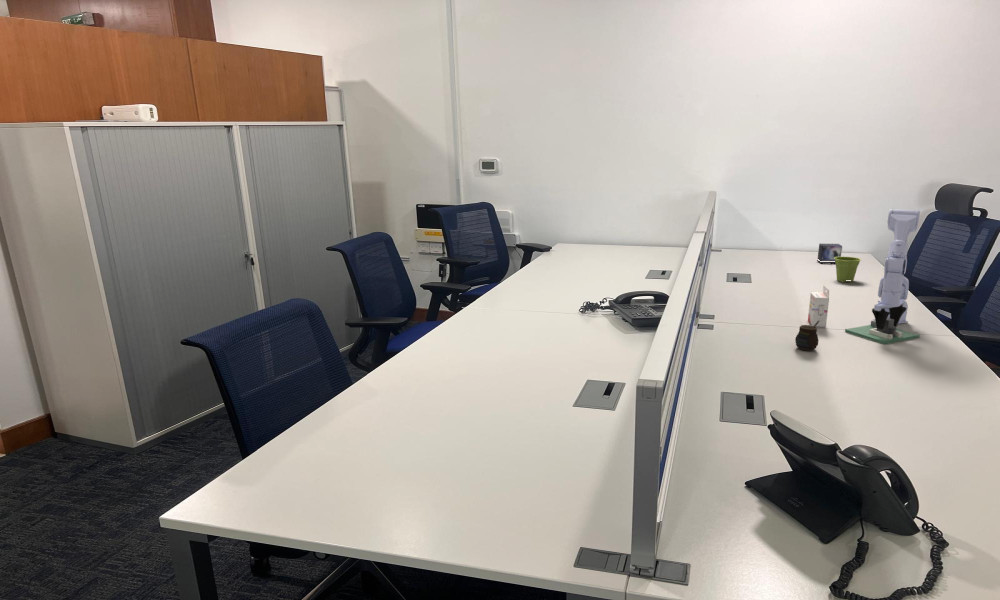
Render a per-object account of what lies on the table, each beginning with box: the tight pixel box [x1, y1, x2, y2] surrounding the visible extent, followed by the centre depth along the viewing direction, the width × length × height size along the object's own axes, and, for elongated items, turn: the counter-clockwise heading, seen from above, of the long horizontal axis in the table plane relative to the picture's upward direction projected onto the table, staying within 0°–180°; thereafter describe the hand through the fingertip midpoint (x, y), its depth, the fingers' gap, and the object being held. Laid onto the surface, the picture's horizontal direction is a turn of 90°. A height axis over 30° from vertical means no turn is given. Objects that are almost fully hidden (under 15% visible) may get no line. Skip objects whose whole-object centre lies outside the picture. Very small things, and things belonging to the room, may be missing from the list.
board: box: [844, 319, 920, 345], centre depth 237 cm, size 18×16×3 cm
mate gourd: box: [794, 321, 819, 352], centre depth 222 cm, size 7×8×10 cm
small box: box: [816, 243, 843, 264], centre depth 360 cm, size 11×6×10 cm, turn 80°
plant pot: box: [834, 256, 862, 283], centre depth 318 cm, size 12×12×11 cm
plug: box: [877, 318, 896, 337], centre depth 233 cm, size 3×6×6 cm, turn 27°
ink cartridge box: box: [807, 284, 830, 328], centre depth 250 cm, size 9×5×15 cm, turn 168°
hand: (886, 327), depth 233 cm, fingers open, 7 cm apart
